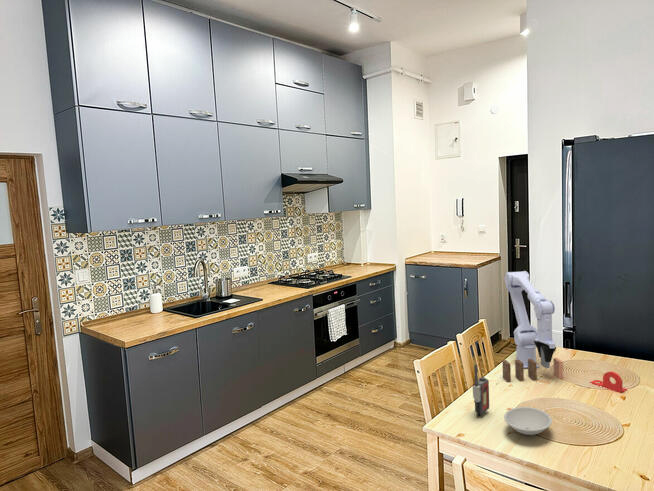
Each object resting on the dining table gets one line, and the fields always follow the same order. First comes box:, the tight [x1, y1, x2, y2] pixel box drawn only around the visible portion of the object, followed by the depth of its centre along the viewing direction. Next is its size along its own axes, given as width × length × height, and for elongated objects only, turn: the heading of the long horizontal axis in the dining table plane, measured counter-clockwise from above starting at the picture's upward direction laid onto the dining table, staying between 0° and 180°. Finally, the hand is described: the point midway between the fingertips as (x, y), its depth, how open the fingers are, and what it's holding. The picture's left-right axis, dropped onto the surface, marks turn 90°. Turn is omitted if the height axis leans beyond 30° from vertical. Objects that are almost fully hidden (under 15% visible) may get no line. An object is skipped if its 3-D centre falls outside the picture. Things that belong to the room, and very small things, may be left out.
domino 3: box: [552, 357, 564, 380], centre depth 191 cm, size 2×5×8 cm, turn 178°
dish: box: [503, 406, 553, 436], centre depth 149 cm, size 18×14×5 cm
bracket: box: [589, 371, 628, 394], centre depth 179 cm, size 12×4×8 cm, turn 29°
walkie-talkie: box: [472, 364, 490, 418], centre depth 163 cm, size 9×4×20 cm, turn 135°
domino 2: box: [527, 359, 538, 382], centre depth 192 cm, size 2×5×8 cm, turn 178°
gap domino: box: [540, 346, 551, 369], centre depth 191 cm, size 2×5×8 cm, turn 178°
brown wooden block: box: [502, 359, 512, 383], centre depth 192 cm, size 2×5×8 cm, turn 178°
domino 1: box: [514, 359, 525, 382], centre depth 192 cm, size 2×5×8 cm, turn 178°
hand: (545, 359), depth 191 cm, fingers closed on gap domino, 5 cm apart
